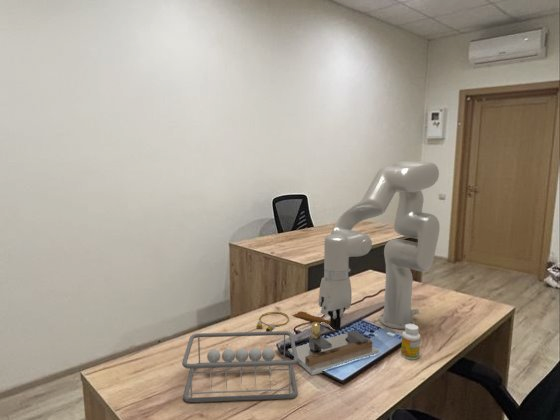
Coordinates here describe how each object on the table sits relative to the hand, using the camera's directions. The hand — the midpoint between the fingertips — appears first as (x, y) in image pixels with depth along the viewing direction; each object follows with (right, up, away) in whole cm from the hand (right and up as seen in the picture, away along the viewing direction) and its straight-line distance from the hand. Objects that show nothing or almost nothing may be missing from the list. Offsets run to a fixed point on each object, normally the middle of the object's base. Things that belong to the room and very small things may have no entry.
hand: (335, 328), depth 129 cm
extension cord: (-21, -4, +21) cm, 30 cm away
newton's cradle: (-29, -3, -9) cm, 31 cm away
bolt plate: (-1, -8, -2) cm, 8 cm away
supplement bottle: (+23, -8, -3) cm, 25 cm away
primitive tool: (-5, -4, +21) cm, 22 cm away
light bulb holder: (-5, -6, -5) cm, 10 cm away
